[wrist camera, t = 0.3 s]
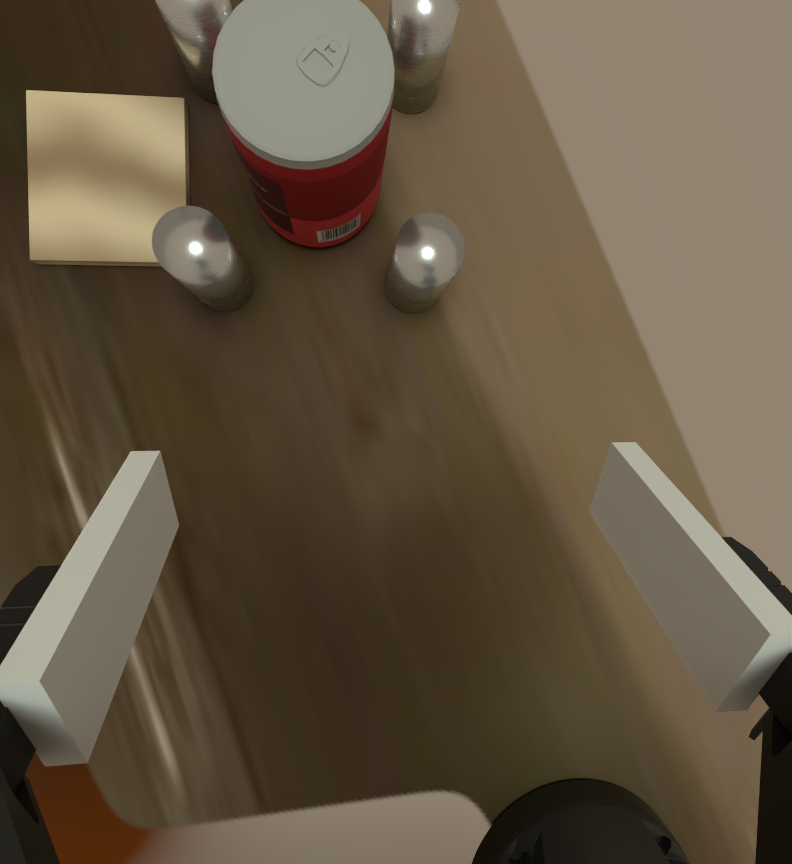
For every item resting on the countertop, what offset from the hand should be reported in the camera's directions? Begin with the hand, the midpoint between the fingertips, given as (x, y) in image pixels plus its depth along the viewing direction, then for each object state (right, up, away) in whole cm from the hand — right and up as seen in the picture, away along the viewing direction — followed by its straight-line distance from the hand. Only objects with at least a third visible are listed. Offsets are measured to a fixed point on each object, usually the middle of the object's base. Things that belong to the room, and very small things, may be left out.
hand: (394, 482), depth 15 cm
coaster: (-17, +17, +16) cm, 29 cm away
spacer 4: (+1, +11, +18) cm, 21 cm away
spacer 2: (-11, +11, +17) cm, 23 cm away
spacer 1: (-11, +24, +16) cm, 31 cm away
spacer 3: (+1, +24, +18) cm, 30 cm away
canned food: (-5, +17, +17) cm, 25 cm away
